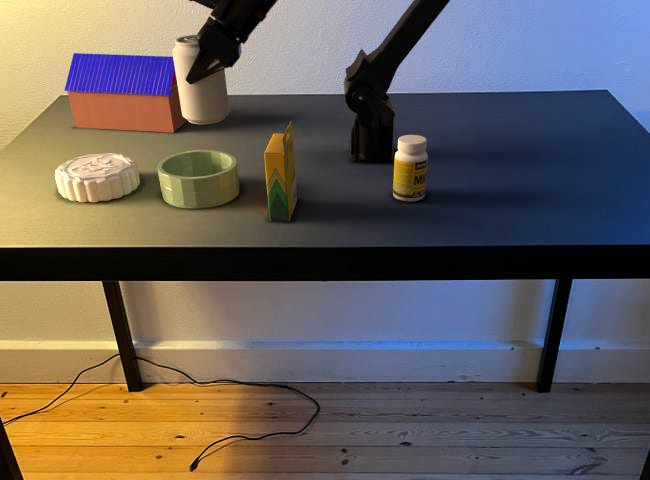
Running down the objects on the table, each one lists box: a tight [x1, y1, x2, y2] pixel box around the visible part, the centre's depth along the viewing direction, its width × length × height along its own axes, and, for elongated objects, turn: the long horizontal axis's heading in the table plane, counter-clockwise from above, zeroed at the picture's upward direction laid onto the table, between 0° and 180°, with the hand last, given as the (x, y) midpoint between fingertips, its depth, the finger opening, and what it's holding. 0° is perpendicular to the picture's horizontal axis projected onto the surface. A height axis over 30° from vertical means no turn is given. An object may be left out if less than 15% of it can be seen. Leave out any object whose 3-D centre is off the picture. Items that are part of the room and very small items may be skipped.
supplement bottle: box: [392, 134, 429, 203], centre depth 98 cm, size 5×5×8 cm
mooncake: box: [54, 152, 141, 203], centre depth 103 cm, size 12×12×4 cm
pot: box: [157, 149, 241, 210], centre depth 101 cm, size 11×11×4 cm
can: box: [171, 34, 230, 125], centre depth 106 cm, size 8×8×12 cm
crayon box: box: [263, 120, 298, 222], centre depth 93 cm, size 7×3×12 cm, turn 174°
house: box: [64, 52, 188, 133], centre depth 126 cm, size 12×20×12 cm, turn 79°
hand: (191, 75), depth 105 cm, fingers closed on can, 7 cm apart
